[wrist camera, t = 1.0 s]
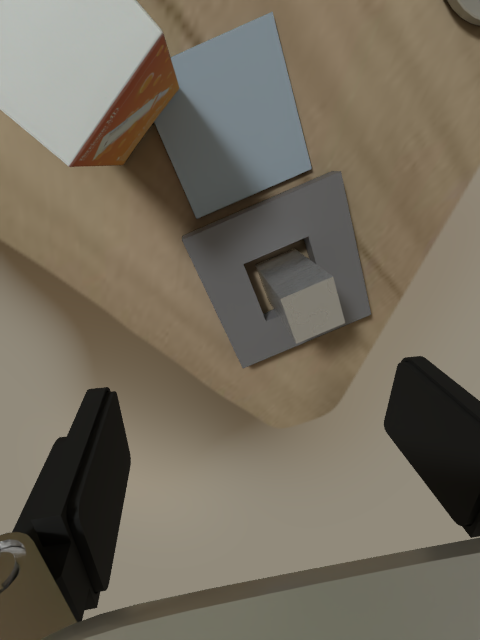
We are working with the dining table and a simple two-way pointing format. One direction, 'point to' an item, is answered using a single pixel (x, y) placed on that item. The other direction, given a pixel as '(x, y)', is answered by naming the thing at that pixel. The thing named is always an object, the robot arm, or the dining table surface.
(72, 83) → the small box
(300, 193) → the socket block
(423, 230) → the dining table surface
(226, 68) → the blue pad
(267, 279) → the steel plug
